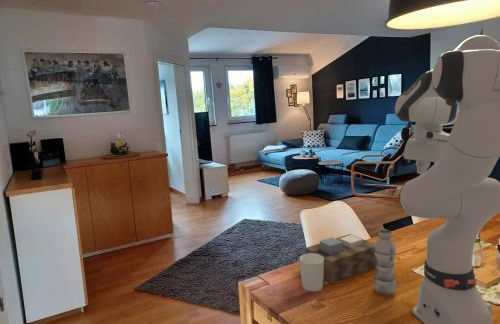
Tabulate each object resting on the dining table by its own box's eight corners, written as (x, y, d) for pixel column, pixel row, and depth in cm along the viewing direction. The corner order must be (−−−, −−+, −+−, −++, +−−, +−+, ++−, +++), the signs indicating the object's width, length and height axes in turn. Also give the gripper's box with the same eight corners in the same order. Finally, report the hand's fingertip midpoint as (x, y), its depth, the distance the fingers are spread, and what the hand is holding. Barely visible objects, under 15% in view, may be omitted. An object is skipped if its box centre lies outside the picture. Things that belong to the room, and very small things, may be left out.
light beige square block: (350, 245, 136) (350, 234, 136) (362, 249, 132) (362, 239, 131) (339, 248, 134) (339, 238, 133) (350, 253, 129) (350, 243, 128)
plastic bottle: (398, 298, 110) (399, 236, 107) (374, 296, 111) (375, 235, 108) (394, 287, 116) (395, 228, 113) (372, 286, 118) (372, 227, 114)
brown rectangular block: (349, 253, 143) (349, 234, 142) (378, 266, 131) (378, 245, 130) (306, 268, 132) (305, 247, 131) (332, 284, 120) (332, 261, 119)
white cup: (319, 279, 124) (318, 251, 122) (328, 290, 116) (327, 261, 115) (297, 282, 123) (296, 254, 121) (304, 294, 115) (303, 265, 113)
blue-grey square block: (331, 247, 132) (331, 237, 131) (342, 252, 127) (342, 242, 126) (320, 251, 129) (319, 241, 128) (330, 257, 124) (330, 246, 123)
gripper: (402, 134, 137) (396, 169, 138) (438, 133, 117) (431, 175, 118) (417, 136, 138) (411, 171, 139) (455, 136, 118) (449, 178, 119)
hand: (421, 173), depth 128 cm, fingers closed
